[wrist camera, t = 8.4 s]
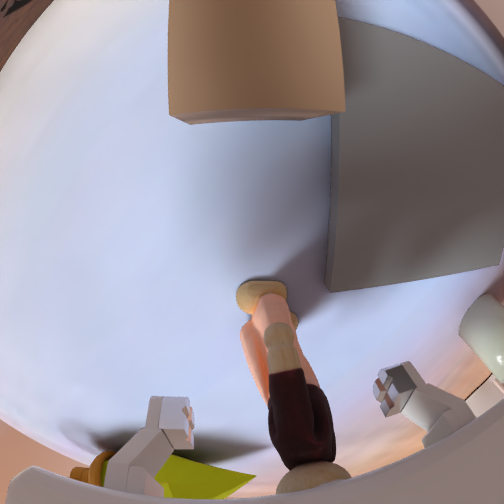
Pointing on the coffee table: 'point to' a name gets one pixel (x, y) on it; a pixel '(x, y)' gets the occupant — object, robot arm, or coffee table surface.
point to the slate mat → (412, 163)
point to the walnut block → (254, 60)
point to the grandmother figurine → (288, 389)
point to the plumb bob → (175, 477)
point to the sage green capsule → (486, 333)
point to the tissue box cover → (17, 23)
